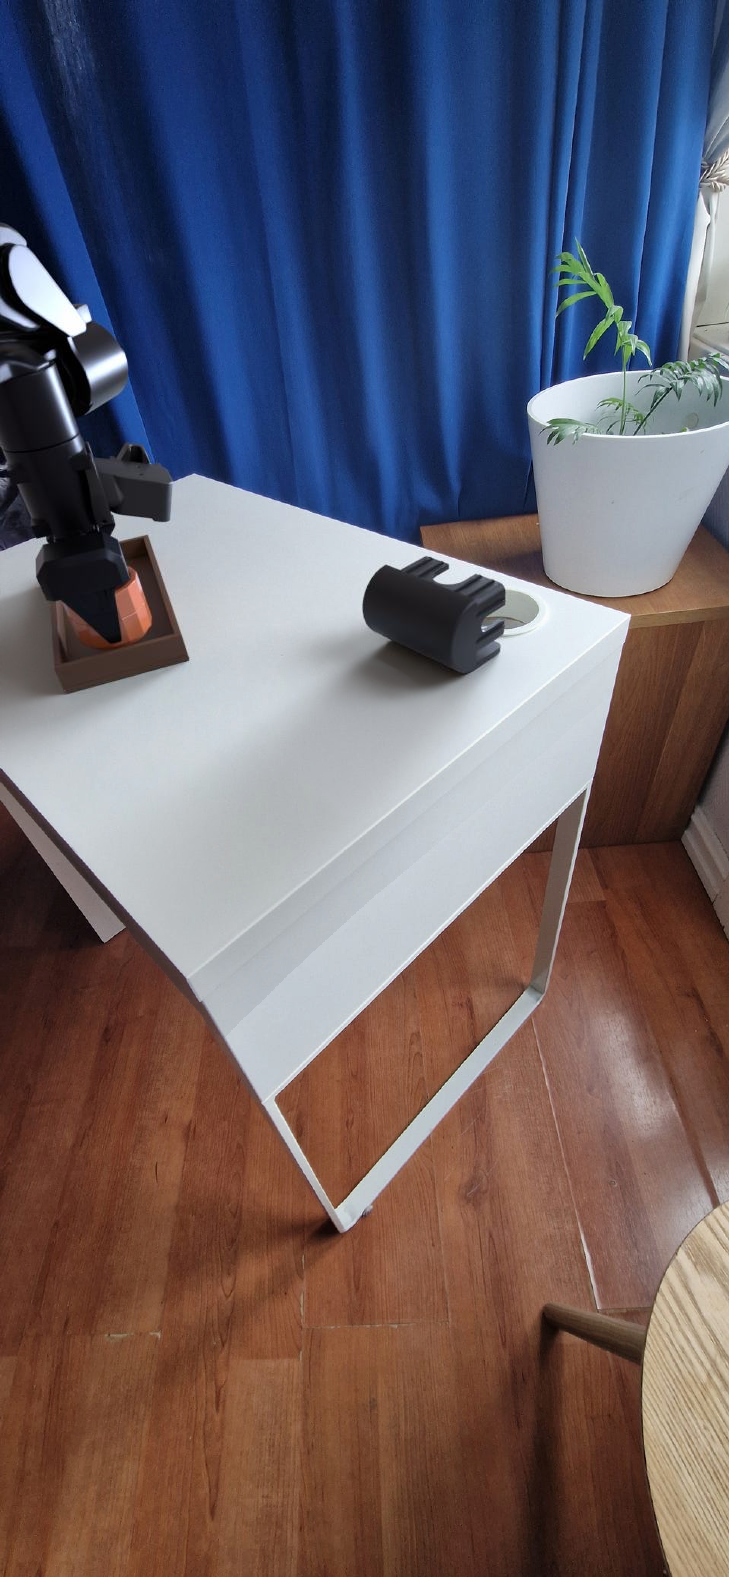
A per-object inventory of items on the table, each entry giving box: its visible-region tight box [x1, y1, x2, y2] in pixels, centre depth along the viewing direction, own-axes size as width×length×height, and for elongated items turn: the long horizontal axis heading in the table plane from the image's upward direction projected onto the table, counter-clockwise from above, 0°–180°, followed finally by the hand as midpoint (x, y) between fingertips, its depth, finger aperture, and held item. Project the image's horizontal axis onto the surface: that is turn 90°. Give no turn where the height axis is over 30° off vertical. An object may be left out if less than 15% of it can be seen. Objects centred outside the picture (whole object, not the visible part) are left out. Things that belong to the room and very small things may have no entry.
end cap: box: [361, 555, 507, 675], centre depth 58 cm, size 10×7×7 cm
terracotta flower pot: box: [62, 566, 152, 650], centre depth 62 cm, size 7×7×5 cm
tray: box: [49, 534, 190, 694], centre depth 70 cm, size 24×11×3 cm, turn 20°
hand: (112, 623), depth 63 cm, fingers closed on terracotta flower pot, 7 cm apart
